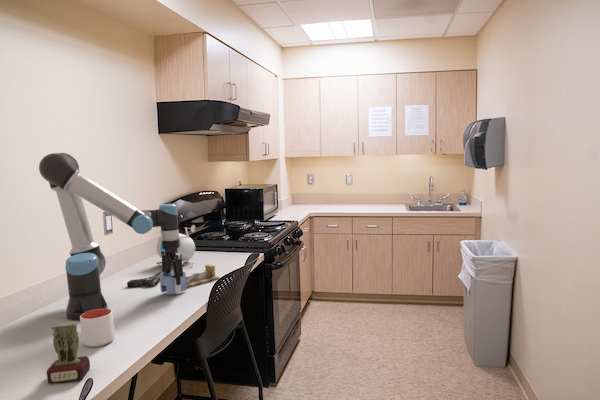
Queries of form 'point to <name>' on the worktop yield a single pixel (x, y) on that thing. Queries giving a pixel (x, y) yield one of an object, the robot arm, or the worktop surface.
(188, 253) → the satellite
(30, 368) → the worktop surface
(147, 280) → the handgun
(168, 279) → the slate grey block
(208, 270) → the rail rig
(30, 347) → the worktop surface
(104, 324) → the cup
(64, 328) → the sculpture
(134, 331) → the worktop surface
